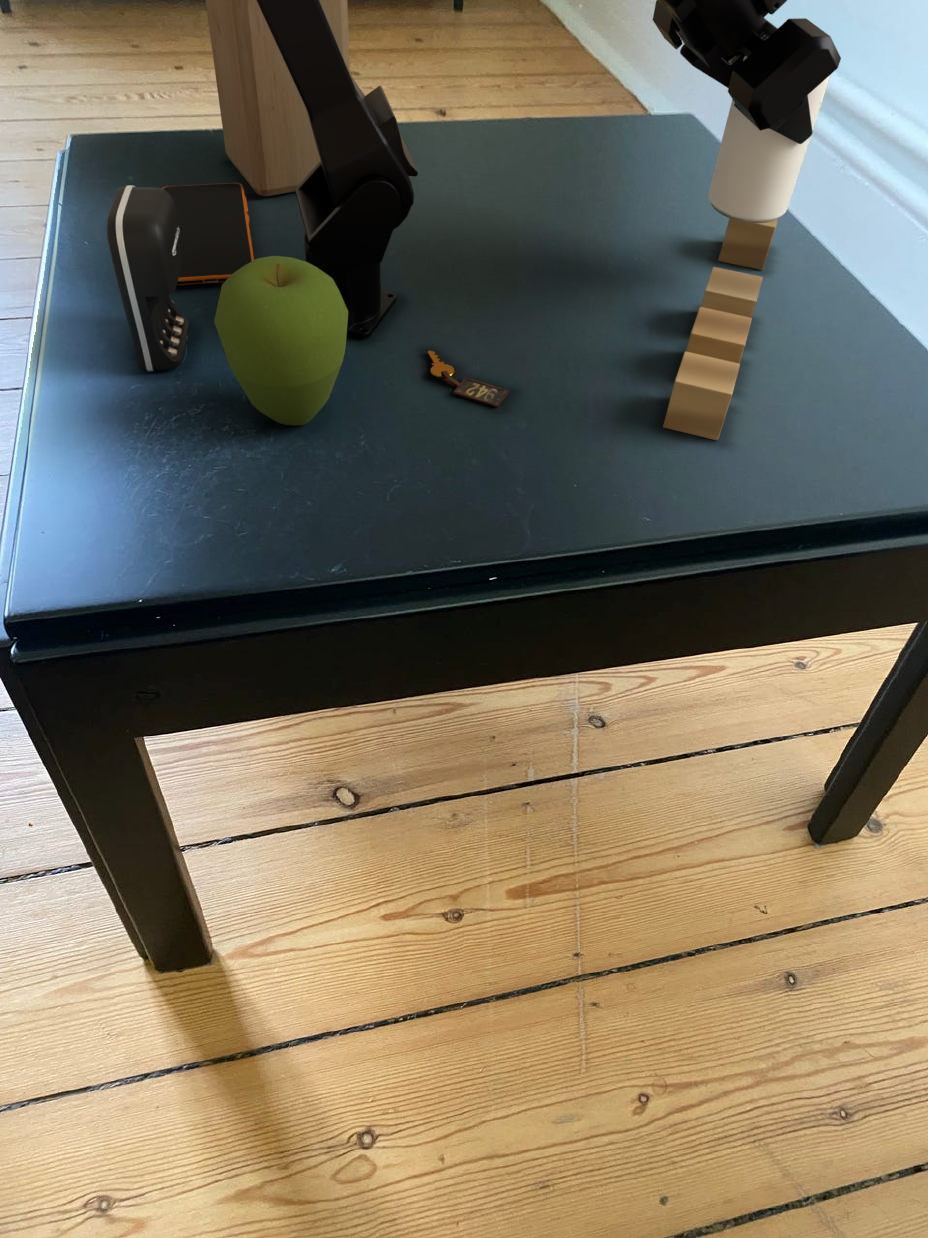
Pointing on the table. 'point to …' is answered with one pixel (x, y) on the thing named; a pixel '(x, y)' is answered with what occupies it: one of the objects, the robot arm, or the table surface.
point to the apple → (283, 335)
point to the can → (758, 167)
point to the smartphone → (212, 231)
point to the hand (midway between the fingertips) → (786, 120)
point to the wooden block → (264, 95)
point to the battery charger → (149, 273)
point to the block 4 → (701, 395)
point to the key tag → (468, 384)
